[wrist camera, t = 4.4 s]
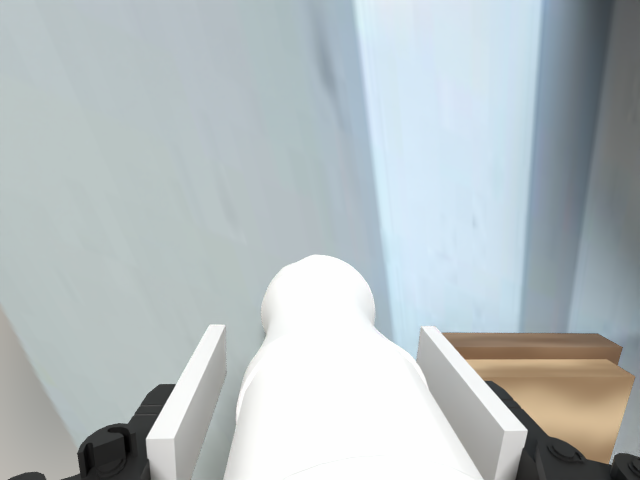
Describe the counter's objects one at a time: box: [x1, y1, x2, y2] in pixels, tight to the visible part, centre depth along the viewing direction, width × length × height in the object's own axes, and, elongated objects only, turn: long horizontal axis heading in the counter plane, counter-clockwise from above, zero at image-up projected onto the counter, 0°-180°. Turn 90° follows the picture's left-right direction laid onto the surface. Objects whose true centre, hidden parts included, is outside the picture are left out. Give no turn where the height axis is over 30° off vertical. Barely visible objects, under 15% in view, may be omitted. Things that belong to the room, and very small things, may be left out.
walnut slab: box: [442, 333, 623, 365], centre depth 25 cm, size 14×14×2 cm
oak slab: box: [466, 359, 635, 464], centre depth 23 cm, size 12×12×2 cm
